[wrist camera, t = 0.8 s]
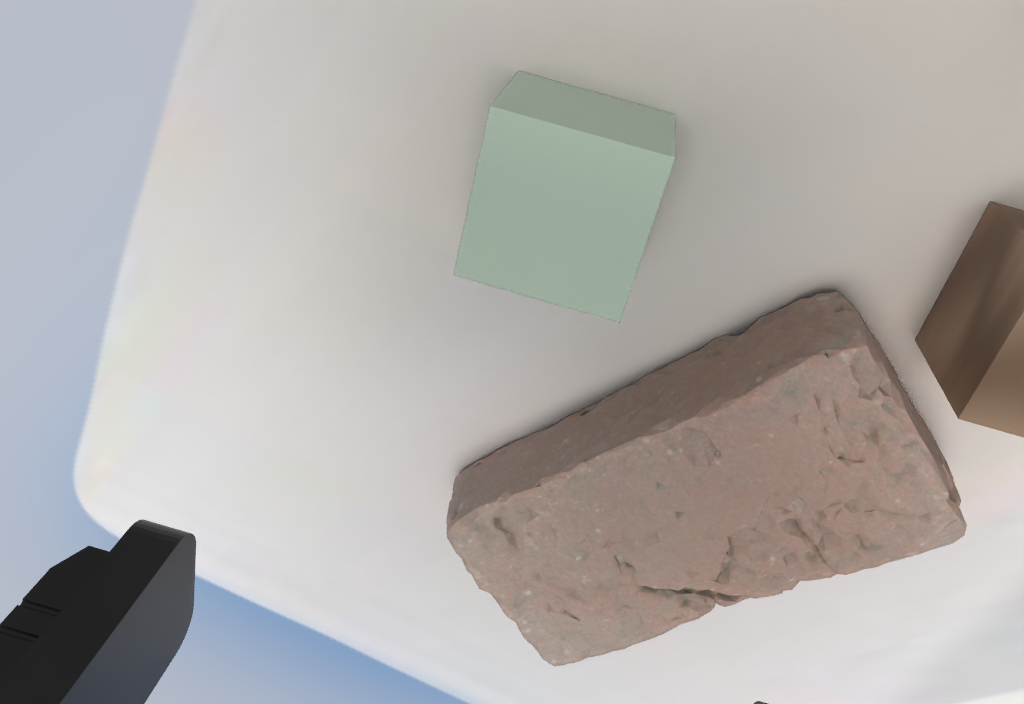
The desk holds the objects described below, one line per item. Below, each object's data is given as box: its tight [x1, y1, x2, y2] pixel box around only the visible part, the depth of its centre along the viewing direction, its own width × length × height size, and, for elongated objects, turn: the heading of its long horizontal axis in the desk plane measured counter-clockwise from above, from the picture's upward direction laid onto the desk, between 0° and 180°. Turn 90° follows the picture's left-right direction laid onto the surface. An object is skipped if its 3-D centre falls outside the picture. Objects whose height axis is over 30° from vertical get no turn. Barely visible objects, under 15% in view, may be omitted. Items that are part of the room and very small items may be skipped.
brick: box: [447, 292, 967, 666], centre depth 31 cm, size 17×8×5 cm, turn 125°
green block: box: [453, 71, 676, 323], centre depth 26 cm, size 5×5×5 cm
